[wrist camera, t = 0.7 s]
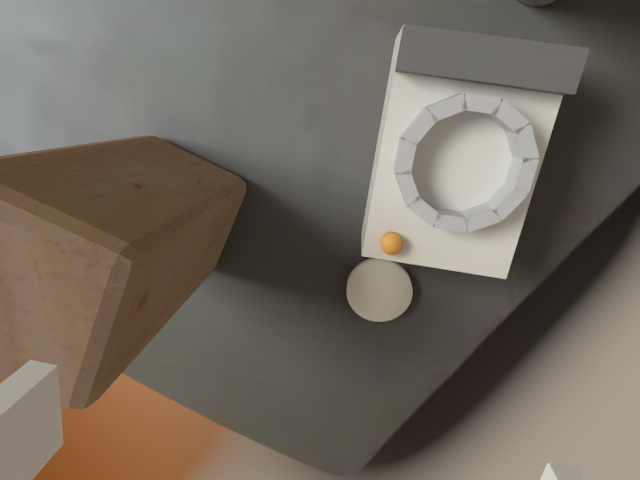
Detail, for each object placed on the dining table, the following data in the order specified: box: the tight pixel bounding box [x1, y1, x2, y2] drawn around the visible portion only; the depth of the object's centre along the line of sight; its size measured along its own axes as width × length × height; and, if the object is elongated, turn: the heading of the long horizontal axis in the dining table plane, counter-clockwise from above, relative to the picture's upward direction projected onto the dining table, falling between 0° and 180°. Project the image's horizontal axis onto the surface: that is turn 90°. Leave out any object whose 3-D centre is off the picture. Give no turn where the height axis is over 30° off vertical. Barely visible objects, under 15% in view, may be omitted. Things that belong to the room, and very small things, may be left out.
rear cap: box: [346, 258, 413, 322], centre depth 38 cm, size 6×6×2 cm
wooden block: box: [0, 136, 246, 410], centre depth 28 cm, size 10×10×20 cm
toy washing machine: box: [361, 24, 590, 279], centre depth 30 cm, size 16×11×8 cm
